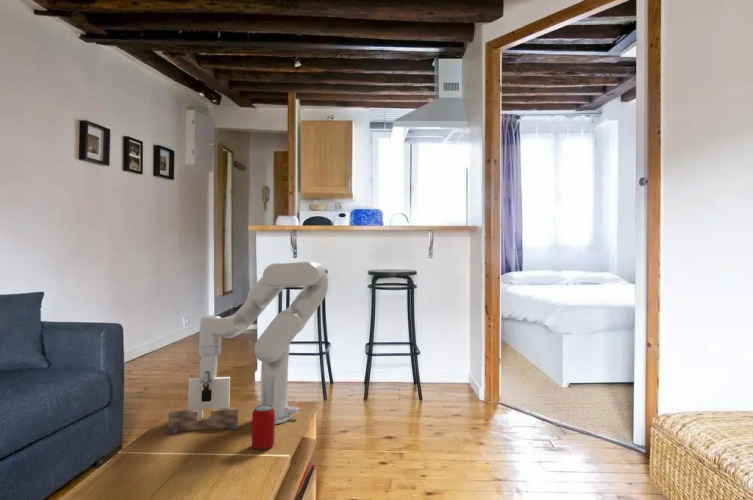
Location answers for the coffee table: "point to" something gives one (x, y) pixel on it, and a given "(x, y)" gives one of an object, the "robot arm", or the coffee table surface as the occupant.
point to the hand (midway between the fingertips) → (208, 397)
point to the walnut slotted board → (202, 420)
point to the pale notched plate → (218, 396)
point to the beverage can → (263, 427)
